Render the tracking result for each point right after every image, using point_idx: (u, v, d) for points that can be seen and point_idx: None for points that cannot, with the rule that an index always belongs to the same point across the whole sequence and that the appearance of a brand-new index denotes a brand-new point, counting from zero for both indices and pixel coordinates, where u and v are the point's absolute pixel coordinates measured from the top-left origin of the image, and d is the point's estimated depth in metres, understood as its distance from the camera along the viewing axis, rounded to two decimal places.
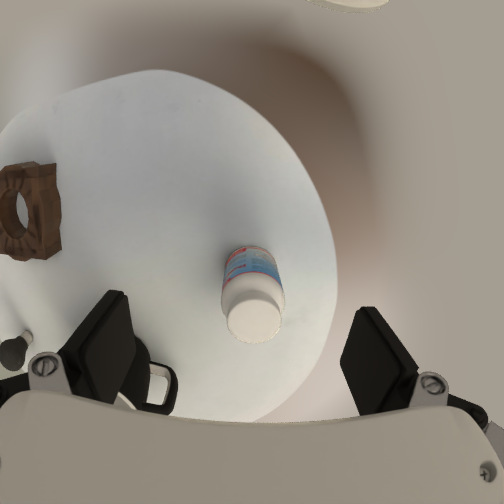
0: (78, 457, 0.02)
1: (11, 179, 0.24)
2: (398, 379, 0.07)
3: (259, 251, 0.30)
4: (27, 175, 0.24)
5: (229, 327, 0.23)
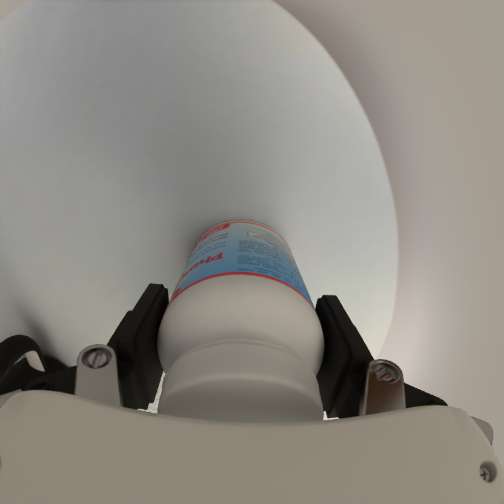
0: (78, 457, 0.02)
1: None
2: (349, 365, 0.07)
3: (258, 228, 0.14)
4: None
5: None
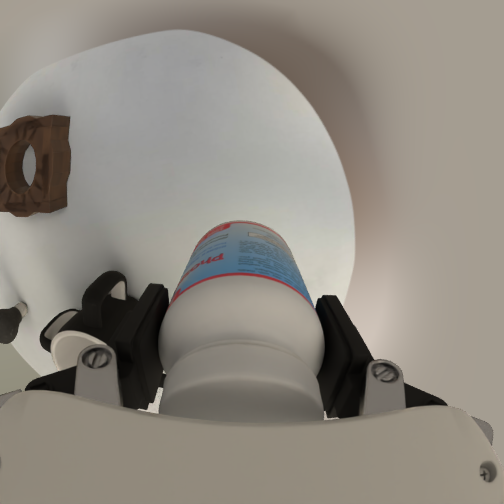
0: (78, 457, 0.02)
1: (22, 131, 0.22)
2: (349, 365, 0.07)
3: (258, 229, 0.14)
4: (40, 125, 0.22)
5: None
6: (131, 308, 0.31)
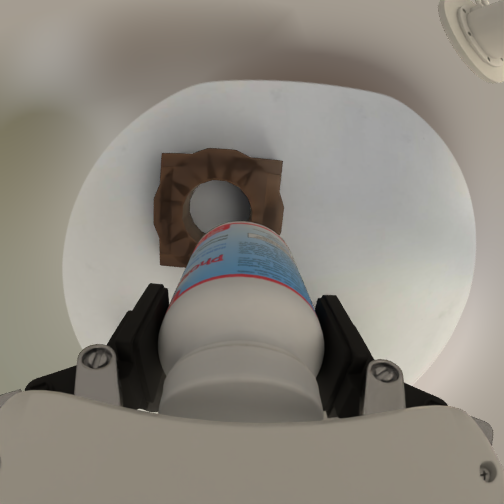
0: (78, 457, 0.02)
1: (222, 168, 0.26)
2: (349, 365, 0.07)
3: (258, 229, 0.14)
4: (260, 168, 0.26)
5: None
6: None
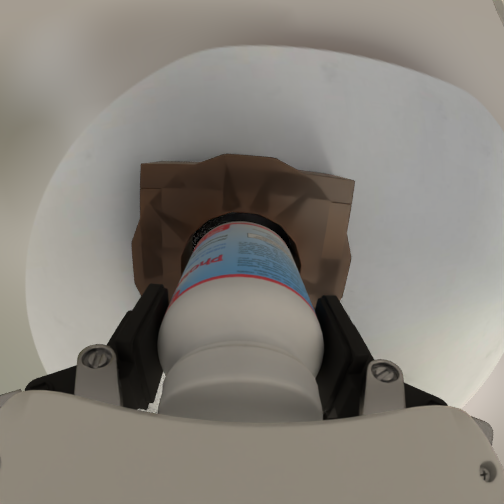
0: (78, 457, 0.02)
1: (251, 191, 0.14)
2: (349, 365, 0.07)
3: (258, 230, 0.14)
4: (318, 193, 0.15)
5: None
6: None
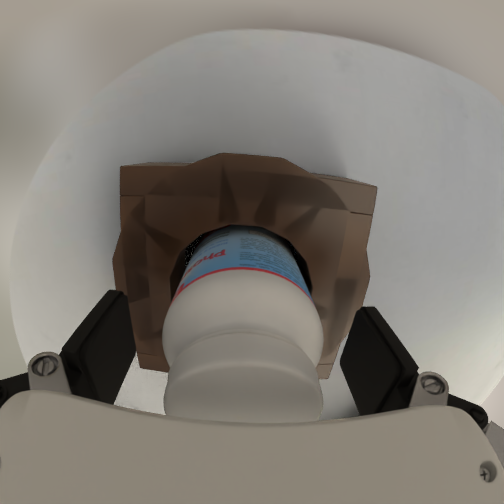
0: (78, 457, 0.02)
1: (254, 199, 0.12)
2: (398, 379, 0.07)
3: (259, 227, 0.14)
4: (334, 201, 0.12)
5: None
6: None
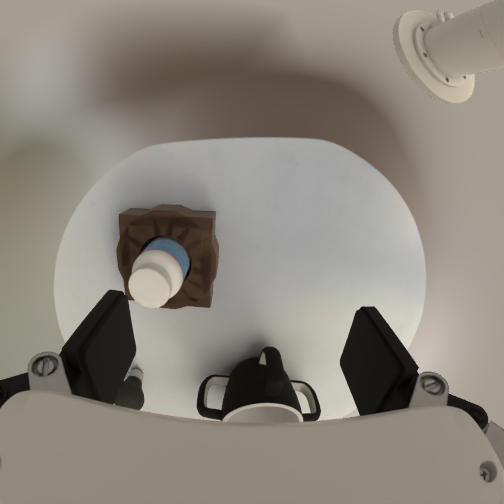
0: (78, 457, 0.02)
1: (165, 226, 0.32)
2: (398, 379, 0.07)
3: None
4: (194, 225, 0.32)
5: (130, 292, 0.26)
6: None
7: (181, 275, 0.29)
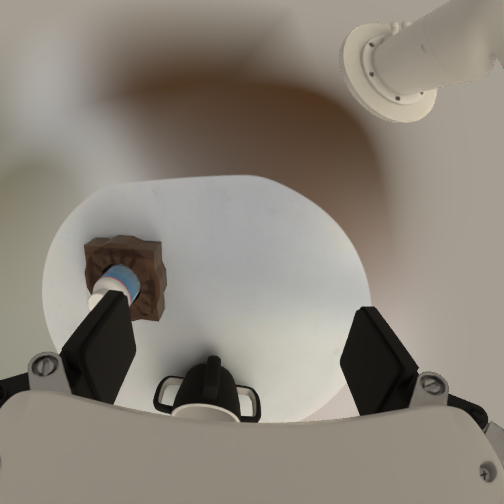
0: (78, 457, 0.02)
1: (118, 256, 0.37)
2: (398, 379, 0.07)
3: None
4: (140, 256, 0.37)
5: (90, 310, 0.32)
6: (224, 376, 0.46)
7: (128, 297, 0.35)
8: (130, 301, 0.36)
